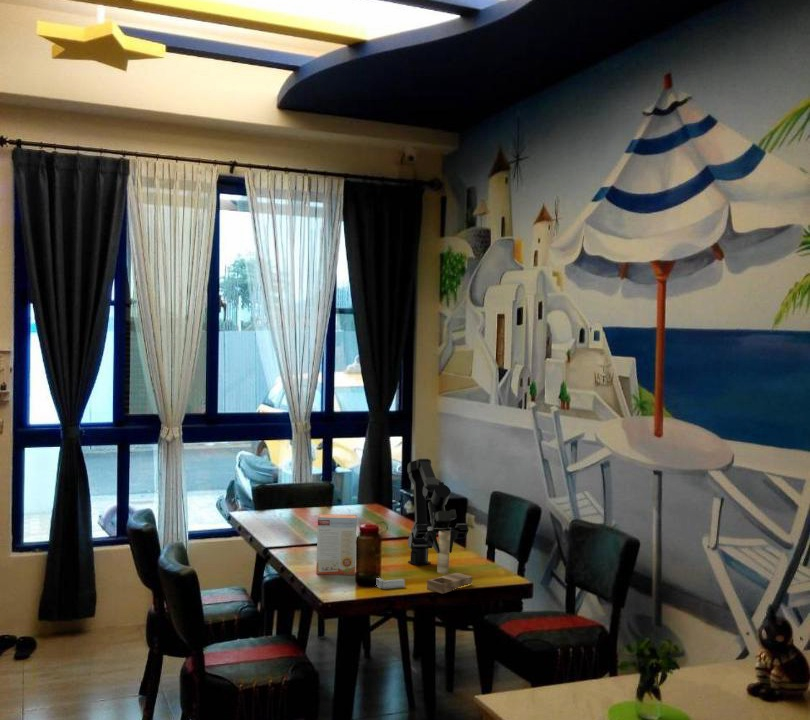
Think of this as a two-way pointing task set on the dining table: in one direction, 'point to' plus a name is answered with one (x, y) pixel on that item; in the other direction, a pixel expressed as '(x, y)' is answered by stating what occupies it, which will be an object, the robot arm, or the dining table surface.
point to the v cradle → (390, 583)
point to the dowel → (443, 552)
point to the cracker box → (336, 544)
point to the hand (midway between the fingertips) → (444, 552)
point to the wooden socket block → (448, 582)
